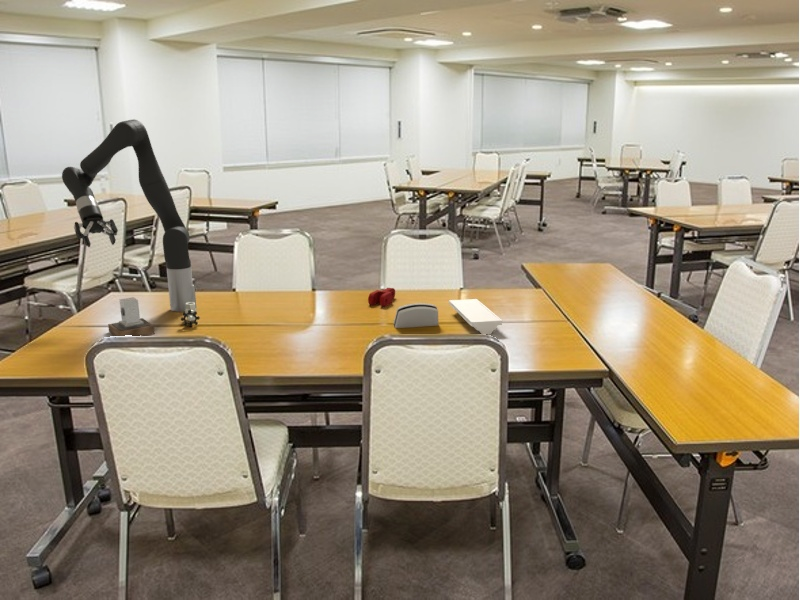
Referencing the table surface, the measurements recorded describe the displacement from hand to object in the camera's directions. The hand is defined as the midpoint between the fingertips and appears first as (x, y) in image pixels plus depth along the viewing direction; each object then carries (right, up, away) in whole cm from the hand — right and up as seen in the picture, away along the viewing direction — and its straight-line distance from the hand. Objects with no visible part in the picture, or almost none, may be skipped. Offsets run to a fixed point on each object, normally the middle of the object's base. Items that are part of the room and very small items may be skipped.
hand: (101, 244), depth 240 cm
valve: (+33, -30, +2) cm, 44 cm away
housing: (+16, -29, -12) cm, 35 cm away
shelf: (+139, -30, +3) cm, 143 cm away
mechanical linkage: (+105, -22, +31) cm, 112 cm away
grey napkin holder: (+118, -31, -1) cm, 122 cm away
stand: (+16, -33, -11) cm, 38 cm away
